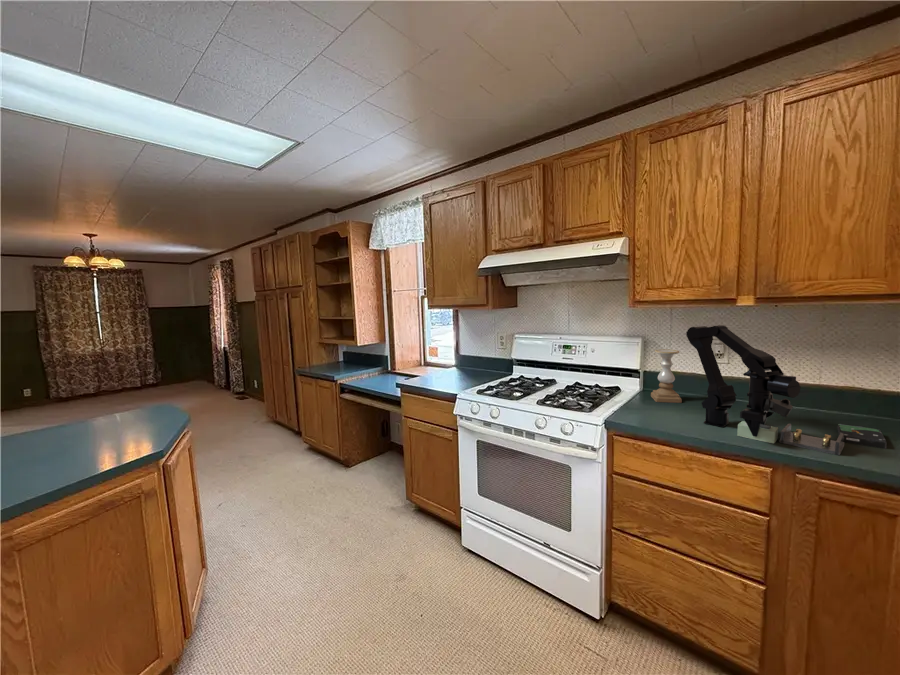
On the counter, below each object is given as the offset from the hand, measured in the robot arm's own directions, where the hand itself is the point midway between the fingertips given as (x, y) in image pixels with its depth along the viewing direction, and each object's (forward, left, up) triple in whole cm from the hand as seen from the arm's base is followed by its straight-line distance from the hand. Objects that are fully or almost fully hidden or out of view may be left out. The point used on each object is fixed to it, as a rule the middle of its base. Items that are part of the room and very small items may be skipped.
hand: (757, 434), depth 129 cm
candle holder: (-41, +28, -2) cm, 50 cm away
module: (0, 0, -1) cm, 1 cm away
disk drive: (+23, +22, -2) cm, 32 cm away
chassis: (+13, +5, -1) cm, 14 cm away
